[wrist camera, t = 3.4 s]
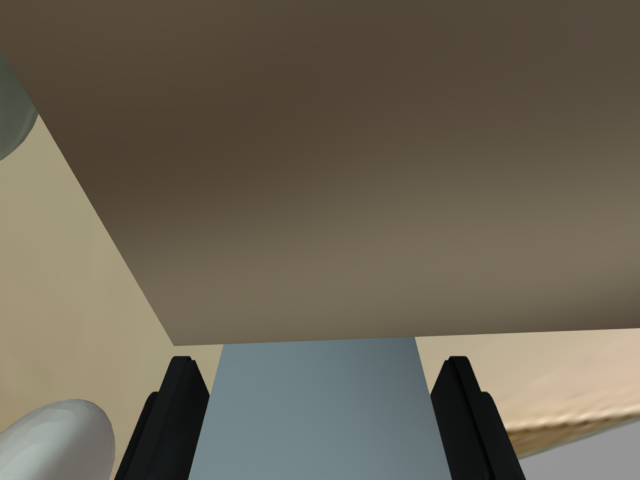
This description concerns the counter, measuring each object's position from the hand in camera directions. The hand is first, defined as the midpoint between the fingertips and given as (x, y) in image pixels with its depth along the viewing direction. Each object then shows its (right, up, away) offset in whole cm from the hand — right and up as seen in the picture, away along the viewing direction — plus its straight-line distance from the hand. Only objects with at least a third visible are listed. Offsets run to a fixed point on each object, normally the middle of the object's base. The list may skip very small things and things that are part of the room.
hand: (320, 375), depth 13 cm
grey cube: (0, +1, +1) cm, 2 cm away
